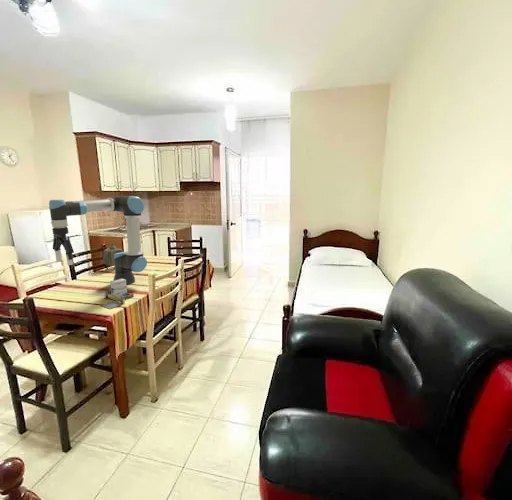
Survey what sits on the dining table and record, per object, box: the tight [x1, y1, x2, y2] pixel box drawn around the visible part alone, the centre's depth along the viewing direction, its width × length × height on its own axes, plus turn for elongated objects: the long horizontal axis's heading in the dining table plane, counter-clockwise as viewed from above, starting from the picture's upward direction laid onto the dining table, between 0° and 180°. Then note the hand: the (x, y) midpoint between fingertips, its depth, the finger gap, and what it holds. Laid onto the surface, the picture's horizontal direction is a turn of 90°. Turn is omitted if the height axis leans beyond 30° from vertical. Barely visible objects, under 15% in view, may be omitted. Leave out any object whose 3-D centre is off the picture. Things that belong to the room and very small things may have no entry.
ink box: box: [109, 279, 128, 298], centre depth 198 cm, size 8×5×12 cm, turn 142°
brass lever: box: [104, 290, 126, 304], centre depth 193 cm, size 3×19×4 cm, turn 57°
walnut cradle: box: [103, 288, 135, 300], centre depth 198 cm, size 13×14×5 cm
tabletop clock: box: [102, 240, 124, 270], centre depth 264 cm, size 14×9×25 cm, turn 145°
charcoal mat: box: [100, 301, 123, 310], centre depth 186 cm, size 8×9×1 cm
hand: (64, 263), depth 177 cm, fingers open, 13 cm apart
